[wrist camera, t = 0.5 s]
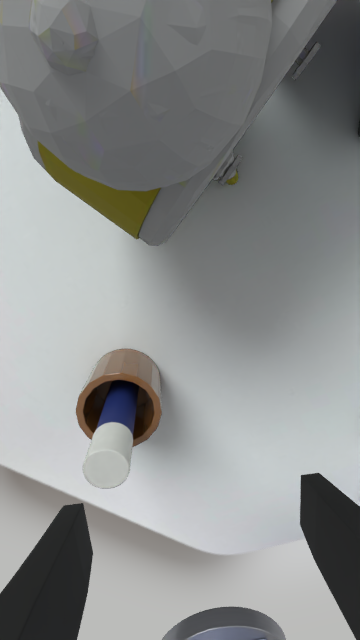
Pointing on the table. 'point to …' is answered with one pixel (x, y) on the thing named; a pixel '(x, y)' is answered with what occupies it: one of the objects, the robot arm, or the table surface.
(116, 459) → the marker
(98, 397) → the cup
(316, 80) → the table surface
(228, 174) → the alarm clock
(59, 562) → the robot arm
